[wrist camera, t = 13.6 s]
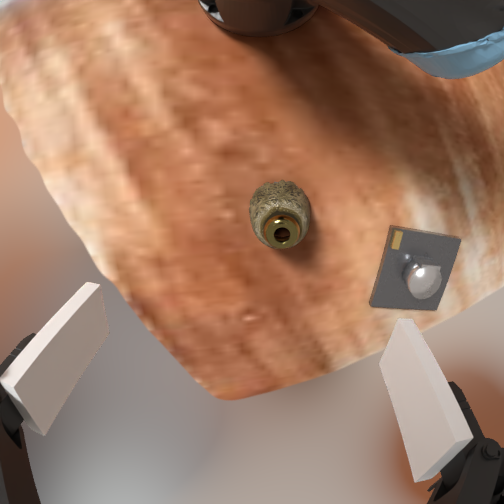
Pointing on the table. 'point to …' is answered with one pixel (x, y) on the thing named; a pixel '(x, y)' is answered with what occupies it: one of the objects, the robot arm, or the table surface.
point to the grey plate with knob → (414, 269)
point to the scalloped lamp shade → (279, 213)
